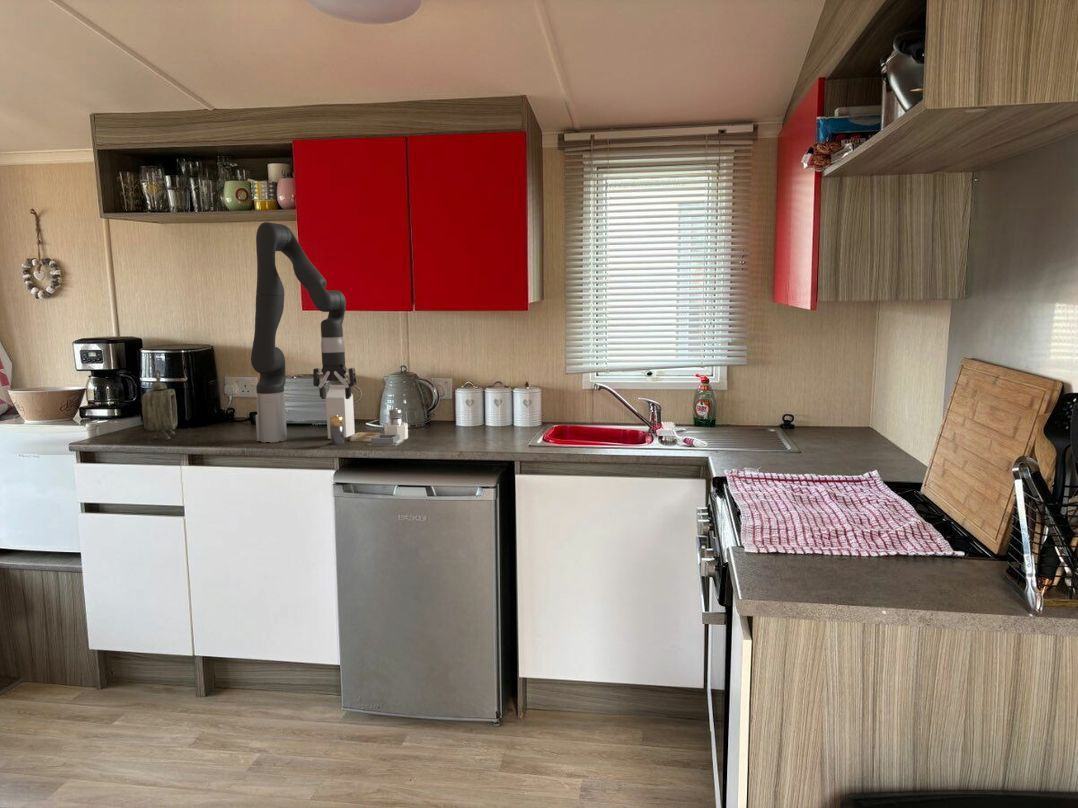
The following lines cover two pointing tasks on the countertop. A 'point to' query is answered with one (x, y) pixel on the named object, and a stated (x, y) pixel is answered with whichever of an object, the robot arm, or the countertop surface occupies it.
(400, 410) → the cell
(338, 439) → the cell
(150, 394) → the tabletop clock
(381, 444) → the grey flat block
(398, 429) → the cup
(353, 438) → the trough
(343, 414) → the milk carton
